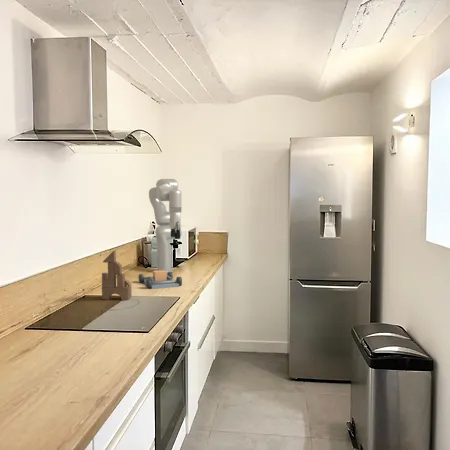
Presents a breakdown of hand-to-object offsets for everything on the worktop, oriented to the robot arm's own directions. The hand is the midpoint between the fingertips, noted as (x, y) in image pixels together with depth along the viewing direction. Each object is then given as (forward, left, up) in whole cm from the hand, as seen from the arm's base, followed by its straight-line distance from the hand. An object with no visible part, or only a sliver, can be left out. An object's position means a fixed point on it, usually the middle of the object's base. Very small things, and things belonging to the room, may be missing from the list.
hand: (175, 237), depth 289 cm
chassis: (+8, -13, -26) cm, 30 cm away
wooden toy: (+35, -44, -26) cm, 62 cm away
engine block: (+8, -13, -25) cm, 29 cm away
